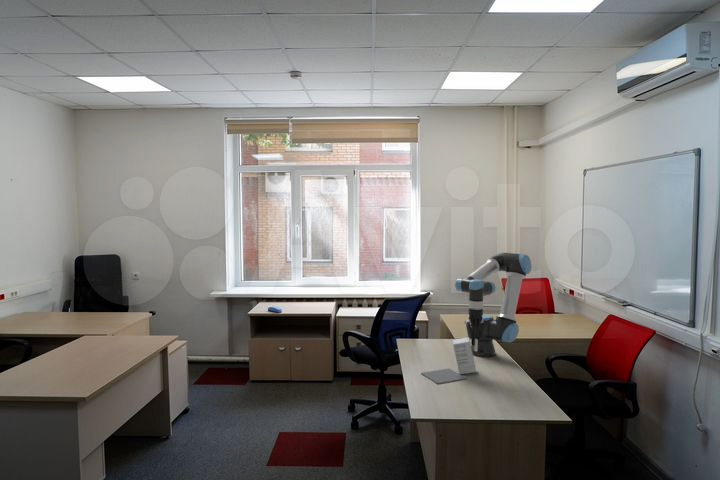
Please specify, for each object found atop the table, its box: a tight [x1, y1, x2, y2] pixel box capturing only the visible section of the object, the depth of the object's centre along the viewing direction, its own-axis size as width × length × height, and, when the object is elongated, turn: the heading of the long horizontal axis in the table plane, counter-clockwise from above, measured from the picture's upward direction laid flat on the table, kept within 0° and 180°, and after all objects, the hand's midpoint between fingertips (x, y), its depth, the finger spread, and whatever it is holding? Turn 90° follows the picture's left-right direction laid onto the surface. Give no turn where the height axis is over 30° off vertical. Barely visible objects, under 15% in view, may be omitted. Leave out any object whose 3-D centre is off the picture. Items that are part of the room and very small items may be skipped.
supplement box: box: [452, 336, 477, 375], centre depth 256 cm, size 10×9×17 cm
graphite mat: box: [420, 368, 467, 385], centre depth 250 cm, size 18×16×1 cm
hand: (474, 350), depth 257 cm, fingers closed
